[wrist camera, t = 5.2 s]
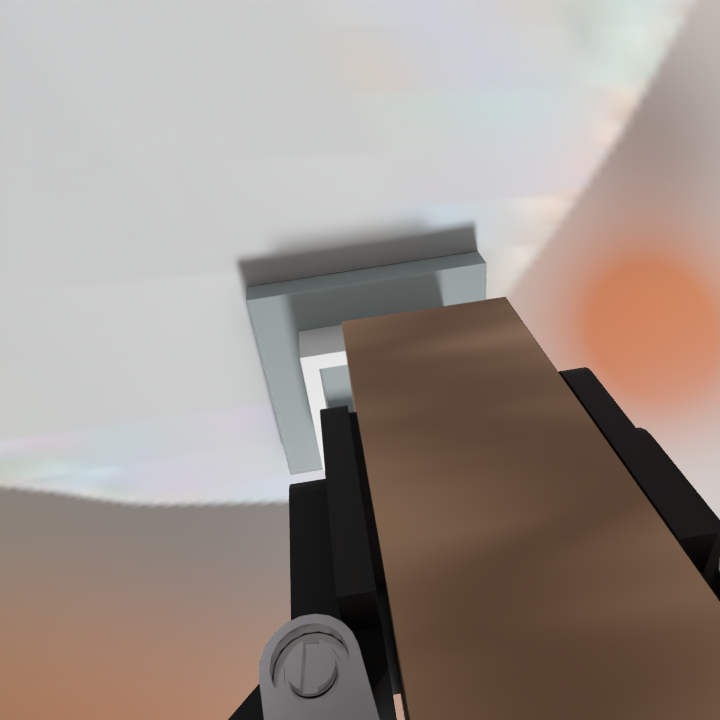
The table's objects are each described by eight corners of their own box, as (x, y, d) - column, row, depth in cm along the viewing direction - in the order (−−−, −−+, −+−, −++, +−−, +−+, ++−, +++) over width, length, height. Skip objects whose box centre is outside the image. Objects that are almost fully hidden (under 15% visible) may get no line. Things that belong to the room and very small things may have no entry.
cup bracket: (477, 251, 30) (502, 285, 27) (477, 426, 37) (497, 471, 33) (247, 286, 30) (243, 325, 26) (290, 457, 36) (291, 506, 33)
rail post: (505, 296, 13) (1356, 1507, 3) (501, 423, 15) (972, 1383, 5) (341, 321, 12) (578, 1687, 2) (359, 446, 14) (531, 1482, 4)
